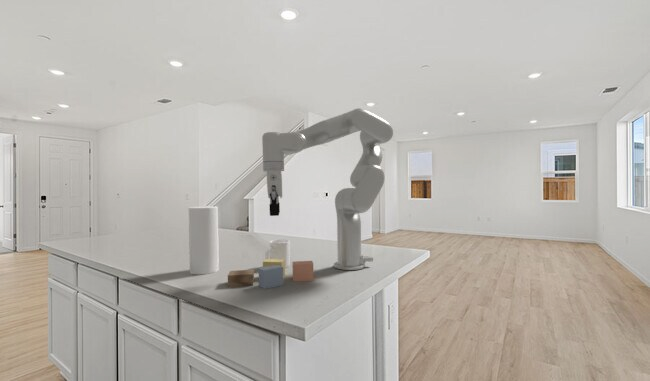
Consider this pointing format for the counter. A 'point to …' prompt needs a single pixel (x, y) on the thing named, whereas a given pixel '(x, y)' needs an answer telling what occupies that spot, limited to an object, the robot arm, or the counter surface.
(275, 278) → the slate brick
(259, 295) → the counter surface
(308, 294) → the counter surface
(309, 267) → the terracotta brick
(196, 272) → the tall pillar cylinder
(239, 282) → the walnut block
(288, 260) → the mug
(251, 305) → the counter surface
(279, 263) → the mustard brick
